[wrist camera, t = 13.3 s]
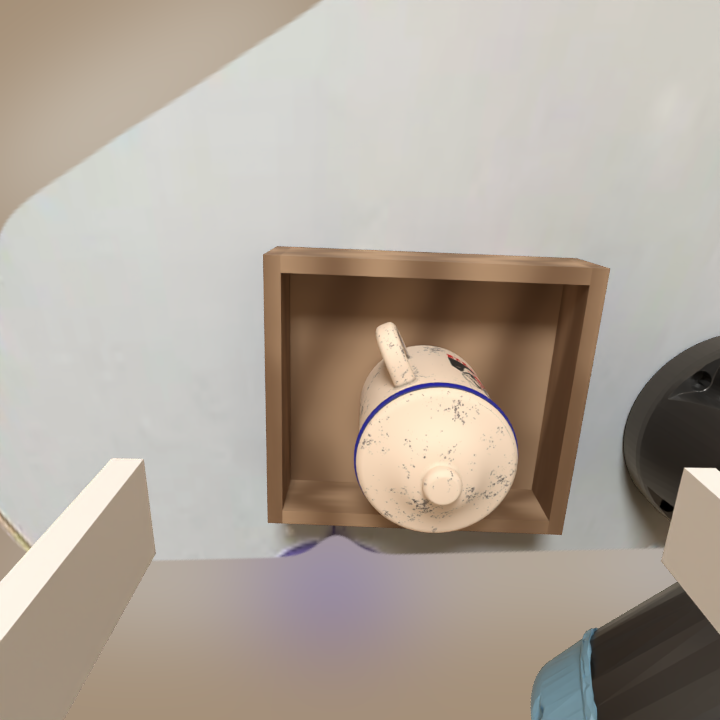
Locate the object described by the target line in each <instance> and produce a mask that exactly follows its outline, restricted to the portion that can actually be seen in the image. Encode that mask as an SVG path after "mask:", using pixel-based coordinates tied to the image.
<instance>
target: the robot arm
mask: <svg viewBox="0 0 720 720" xmlns="http://www.w3.org/2000/svg"><path fill="white" fill-rule="evenodd" d="M624 455H625V461H626V465H627V468H628V471H629V474H630V476H631V478H632V480H633V482H634V483H635V485H636V486H637V488H638V489H639V490H640V492H641V493H642V494H643V495H644V496H645V497H646V498H647V499H648V500H649V502H650V503H651V504H652V505H653V506H654V507H655V508H656V509H657V510H658V511H659V512H660V513H661V514H663V515H664V516H665V517H666V518H668V519H669V520H670V521H671V523H670V527H669V531H668V535H667V540H666V544H665V548H664V552H663V556H662V560H661V561H662V563H663V564H664V565H665V566H666V568H667V569H668V570H669V571H670V572H671V574H672V575H673V576H674V578H675V579H676V580H677V581H678V582H676V583H675V584H673V585H671V586H670V587H668V588H666V589H665V590H663V591H661V592H660V593H658V594H656V595H654V596H653V597H651V598H650V599H648V600H646V601H644V602H643V603H641V604H639V605H638V606H636V607H634V608H633V609H631V610H629V611H627V612H626V613H624V614H623V615H621V616H619V617H617V618H616V619H614V620H612V621H611V622H609V623H607V624H606V625H604V626H602V627H600V628H599V629H598V628H594V629H592V628H591V629H590V630H588V631H586V632H585V634H584V636H583V639H581V640H580V641H578V642H577V643H575V644H574V645H572V646H571V647H570V648H568V649H567V650H565V651H564V652H562V653H561V654H559V655H558V656H556V657H555V658H553V659H552V660H551V661H549V662H548V663H546V664H545V665H544V666H543V667H542V669H541V670H540V671H539V673H538V675H537V676H536V679H535V681H534V685H533V689H532V695H531V719H532V720H720V336H718V337H714V338H712V339H709V340H706V341H703V342H701V343H699V344H696V345H694V346H692V347H690V348H689V349H687V350H685V351H683V352H682V353H680V354H679V355H677V356H676V357H674V358H673V359H672V360H670V361H669V362H668V363H667V364H665V365H664V366H663V367H662V368H661V369H660V370H659V371H658V372H657V373H656V374H655V375H654V376H653V377H652V378H651V379H650V380H649V382H648V383H647V384H646V385H645V387H644V388H643V390H642V391H641V392H640V394H639V396H638V397H637V399H636V401H635V403H634V405H633V407H632V409H631V412H630V414H629V417H628V420H627V424H626V429H625V435H624ZM155 554H156V552H155V544H154V537H153V529H152V521H151V513H150V505H149V497H148V490H147V482H146V474H145V466H144V459H116V458H112V459H111V460H110V461H109V462H108V463H107V464H106V465H105V467H104V468H103V469H102V470H101V471H100V472H99V473H98V474H97V475H96V477H95V478H94V479H93V480H92V481H91V482H90V483H89V484H88V485H87V486H86V488H85V489H84V490H83V491H82V492H81V493H80V494H79V495H78V496H77V498H76V499H75V500H74V501H73V502H72V503H71V504H70V505H69V506H68V508H67V509H66V510H65V511H64V512H63V513H62V514H61V515H60V516H59V518H58V519H57V520H56V521H55V522H54V523H53V524H52V525H51V526H50V527H49V529H48V530H47V531H46V532H45V533H44V534H43V535H42V536H41V537H40V539H39V540H38V541H37V542H36V543H35V544H34V545H33V546H32V547H31V549H30V550H29V551H28V552H27V553H26V554H25V555H24V556H23V557H22V559H21V560H20V561H19V562H18V563H17V564H16V565H15V566H14V568H12V570H11V571H10V572H9V573H8V574H7V575H6V576H5V577H4V578H3V580H2V581H1V582H0V720H64V719H65V717H66V715H67V713H68V711H69V710H70V708H71V706H72V704H73V702H74V700H75V699H76V697H77V695H78V693H79V692H80V690H81V688H82V686H83V684H84V682H85V681H86V679H87V677H88V675H89V673H90V672H91V670H92V668H93V666H94V664H95V663H96V661H97V659H98V657H99V655H100V653H101V651H102V650H103V648H104V646H105V644H106V643H107V641H108V639H109V637H110V635H111V634H112V632H113V630H114V628H115V626H116V625H117V623H118V621H119V619H120V617H121V615H122V614H123V612H124V610H125V608H126V606H127V605H128V603H129V601H130V599H131V597H132V595H133V594H134V592H135V590H136V588H137V586H138V584H139V583H140V581H141V579H142V577H143V576H144V574H145V572H146V570H147V568H148V566H149V565H150V563H151V561H152V559H153V557H154V556H155Z"/></svg>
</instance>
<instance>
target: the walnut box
mask: <svg viewBox="0 0 720 720" xmlns="http://www.w3.org/2000/svg"><path fill="white" fill-rule="evenodd" d="M609 272H610V268H606V267H603V266H600V265H597V264H593V263H590V262H587V261H584V260H580V259H577V258H554V257H529V256H504V255H479V254H454V253H430V252H405V251H380V250H355V249H331V248H306V247H281V246H277V247H275V248H274V249H272V250H270V251H269V252H267V253H265V254H263V277H264V334H265V391H266V447H267V504H268V523H287V524H312V525H336V526H360V527H384V528H404V527H402V526H399V525H397V524H395V523H393V522H392V521H390V520H388V519H387V518H385V517H384V516H383V515H381V514H380V513H379V512H378V511H377V510H376V509H375V508H374V507H373V506H372V505H371V504H370V502H369V501H368V499H367V498H366V497H365V495H364V494H363V492H362V490H361V488H360V486H359V483H358V481H357V478H356V474H355V469H354V449H355V444H356V440H357V437H358V434H359V420H360V398H361V392H362V389H363V386H364V383H365V381H366V379H367V377H368V375H369V374H370V372H371V371H372V370H373V368H374V367H375V366H376V365H377V364H378V363H379V362H380V361H381V360H383V357H382V355H381V352H380V349H379V346H378V343H377V339H376V329H377V327H378V326H380V325H382V324H385V323H387V322H391V323H393V324H395V325H396V327H397V329H398V331H399V333H400V335H401V337H402V339H403V342H404V344H405V346H406V348H407V347H411V346H420V345H426V346H436V347H440V348H443V349H446V350H449V351H451V352H453V353H455V354H456V355H458V356H459V357H461V358H462V359H463V360H465V361H466V362H467V363H468V364H469V365H470V366H471V368H472V369H473V370H474V372H475V373H476V375H477V377H478V378H479V380H480V382H481V383H482V385H483V387H484V388H485V390H486V392H487V393H488V395H489V397H490V398H491V400H492V401H493V402H494V403H495V404H496V405H498V406H499V408H500V409H501V410H502V411H503V412H504V413H505V415H506V416H507V418H508V419H509V421H510V423H511V425H512V427H513V429H514V432H515V435H516V439H517V444H518V464H517V471H516V475H515V478H514V481H513V484H512V486H511V488H510V490H509V492H508V493H507V495H506V496H505V498H504V499H503V500H502V502H501V503H500V504H499V505H498V506H497V507H496V508H495V509H494V510H493V511H492V512H491V513H490V514H489V515H487V516H486V517H485V518H483V519H481V520H480V521H478V522H476V523H474V524H472V525H470V526H468V527H465V528H462V529H459V530H457V531H481V532H505V533H529V534H554V535H562V531H563V525H564V520H565V514H566V509H567V503H568V498H569V492H570V487H571V481H572V476H573V470H574V465H575V459H576V454H577V448H578V443H579V437H580V432H581V426H582V421H583V415H584V410H585V404H586V399H587V393H588V388H589V382H590V377H591V371H592V366H593V360H594V355H595V349H596V344H597V338H598V333H599V327H600V322H601V316H602V311H603V305H604V300H605V294H606V289H607V283H608V278H609Z"/></svg>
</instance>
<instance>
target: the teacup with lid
mask: <svg viewBox="0 0 720 720" xmlns="http://www.w3.org/2000/svg"><path fill="white" fill-rule="evenodd" d="M376 339H377V343H378V346H379V349H380V352H381V355H382V357H383V360H381V361H380V362H379V363H378V364H377V365H376V366H375V367H374V368H373V370H372V371H371V372H370V374H369V375H368V377H367V379H366V381H365V383H364V386H363V389H362V392H361V398H360V420H359V434H358V437H357V440H356V444H355V449H354V469H355V474H356V478H357V481H358V483H359V486H360V488H361V490H362V492H363V494H364V495H365V497H366V498H367V499H368V501H369V502H370V504H371V505H372V506H373V507H374V508H375V509H376V510H377V511H378V512H379V513H380V514H381V515H383V516H384V517H385V518H387V519H388V520H390V521H392V522H393V523H395V524H397V525H399V526H402V527H404V528H407V529H410V530H414V531H419V532H426V533H443V532H450V531H455V530H459V529H462V528H465V527H468V526H470V525H472V524H474V523H476V522H478V521H480V520H481V519H483V518H485V517H486V516H487V515H489V514H490V513H491V512H492V511H493V510H494V509H495V508H496V507H497V506H498V505H499V504H500V503H501V502H502V500H503V499H504V498H505V496H506V495H507V493H508V492H509V490H510V488H511V486H512V484H513V481H514V478H515V475H516V471H517V464H518V444H517V439H516V435H515V432H514V429H513V427H512V425H511V423H510V421H509V419H508V418H507V416H506V415H505V413H504V412H503V411H502V410H501V409H500V408H499V406H498V405H496V404H495V403H494V402H493V401H492V400H491V398H490V397H489V395H488V393H487V392H486V390H485V388H484V387H483V385H482V383H481V382H480V380H479V378H478V377H477V375H476V373H475V372H474V370H473V369H472V368H471V366H470V365H469V364H468V363H467V362H466V361H465V360H463V359H462V358H461V357H459V356H458V355H456V354H455V353H453V352H451V351H449V350H446V349H443V348H440V347H436V346H426V345H420V346H411V347H407V348H406V346H405V344H404V342H403V339H402V337H401V335H400V333H399V331H398V329H397V327H396V325H395V324H393V323H391V322H387V323H385V324H382V325H380V326H378V327H377V329H376Z"/></svg>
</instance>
